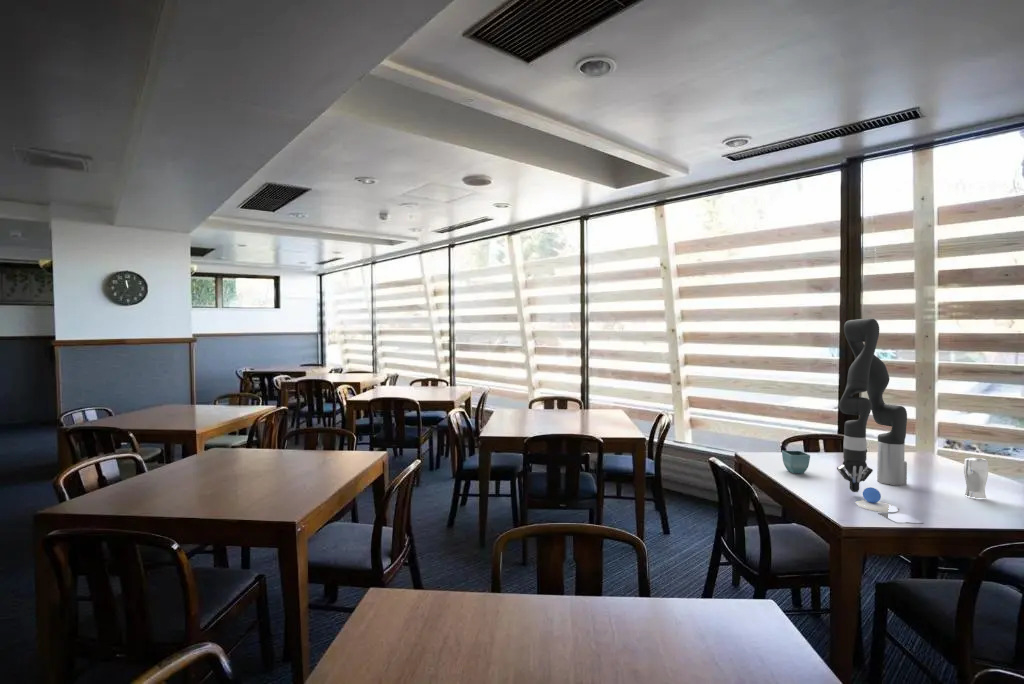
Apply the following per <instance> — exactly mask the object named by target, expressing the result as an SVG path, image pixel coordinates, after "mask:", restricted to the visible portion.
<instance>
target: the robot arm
mask: <svg viewBox="0 0 1024 684" xmlns="http://www.w3.org/2000/svg"><path fill="white" fill-rule="evenodd" d="M879 325H880V324H879V323H878V321H877V320H876V319H875V318H862V319H861V318H859V319H850V320H847V321H846V322H844V324H843V332H844V335H845V336H844V337H845V339H846V341H847V343H848V345H849V347H850V349H851V351H852V354H853V355H854V361H852V363H851V365H850V366H849V368H848V373H847V379H846V385H845V388H844V389H845V390H844V391H843V394H842V396H841V398H840V399H839V404H838V407H839V411H840V412H841V413H842V414H845V415H852V416H859V418H858V419H851V420H846V421H845V422H844V430H843V432H844V436H843V446H842V447H843V450H842V451H843V455H842V456H843V462H842V465H841V466H837V467H836V469H837V471H838V472H839V474H840V475H841V476H842V478H843V479H844V480H845V481H847V482H849V490H850V491H851V492H853V493H858V492H859V491H860V483H861V482H865V481H866V480H867V479H868V477H869V476H870V475H871V474H872V473H873V471H874V470H873V468H870V467H869V466H868V465H867V464H868V463H867V448H868V447H867V446H868V445H867V423H868V420H869V416H870V415H871V414H872V418H873V419H874V420H873V421H875V423H876V424H877V425H881V426H887V427H891V430H890V431H888V432H885V433H884V432H883V433H880V434H878V435H877V460H876V461H877V466H876V467H877V470H876V471H877V474H876V477H877V482H878V483H881V484H884V485H889V484H890V486H904V485H907V484H908V481H907V479H908V478H907V477H908V474H907V473H908V463H907V461H905V448H906V447H905V444H906V443H905V440H906V437H907V425H908V424H907V423H908V413H907V412H908V411H907V409H906V408H905V407H904V406H903V405H897V404H890V403H888V404H886V403H885V402H884V398H883V394H884V393H885V390H886V389H887V387H888V385H889V383H890V375H889V371H888V370H887V367H886V364H885V363H884V361H883V360H881V358H880V357H878V356H877V355H875V352H876V349H877V343H878V340H879V338H880V337H879V336H880V326H879ZM865 392H866V393H867V397H868V398H867V397H860V396H859V397H858V396H854V395H855V394H859V393H861V394H862V393H865Z"/></svg>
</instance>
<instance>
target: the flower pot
mask: <svg viewBox="0 0 1024 684" xmlns="http://www.w3.org/2000/svg"><path fill="white" fill-rule="evenodd" d="M781 455H782V457H781V458H782V462H783V465H784V467H785V469H786V470H787V472H790V473H791V472H792V474H804V473H805V472H807V470H808V468H809V466H810V459H811V455H810V454H808V453H807V452H804V451H802V450H781Z"/></svg>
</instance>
